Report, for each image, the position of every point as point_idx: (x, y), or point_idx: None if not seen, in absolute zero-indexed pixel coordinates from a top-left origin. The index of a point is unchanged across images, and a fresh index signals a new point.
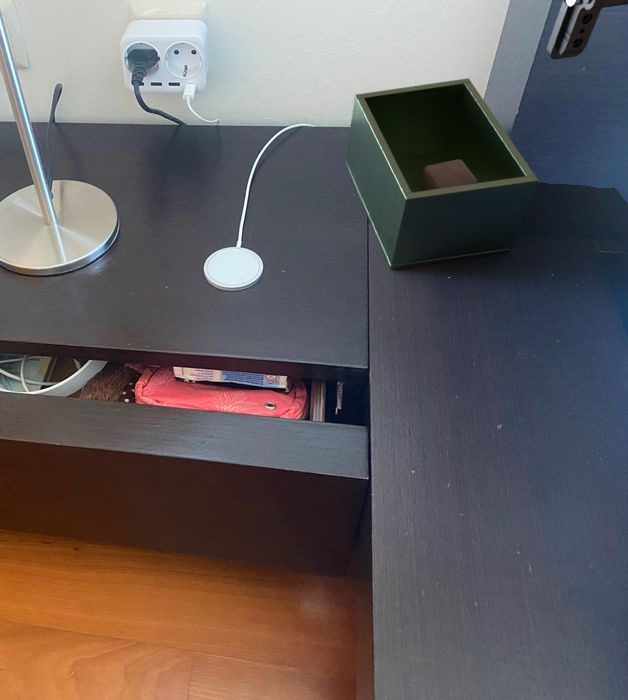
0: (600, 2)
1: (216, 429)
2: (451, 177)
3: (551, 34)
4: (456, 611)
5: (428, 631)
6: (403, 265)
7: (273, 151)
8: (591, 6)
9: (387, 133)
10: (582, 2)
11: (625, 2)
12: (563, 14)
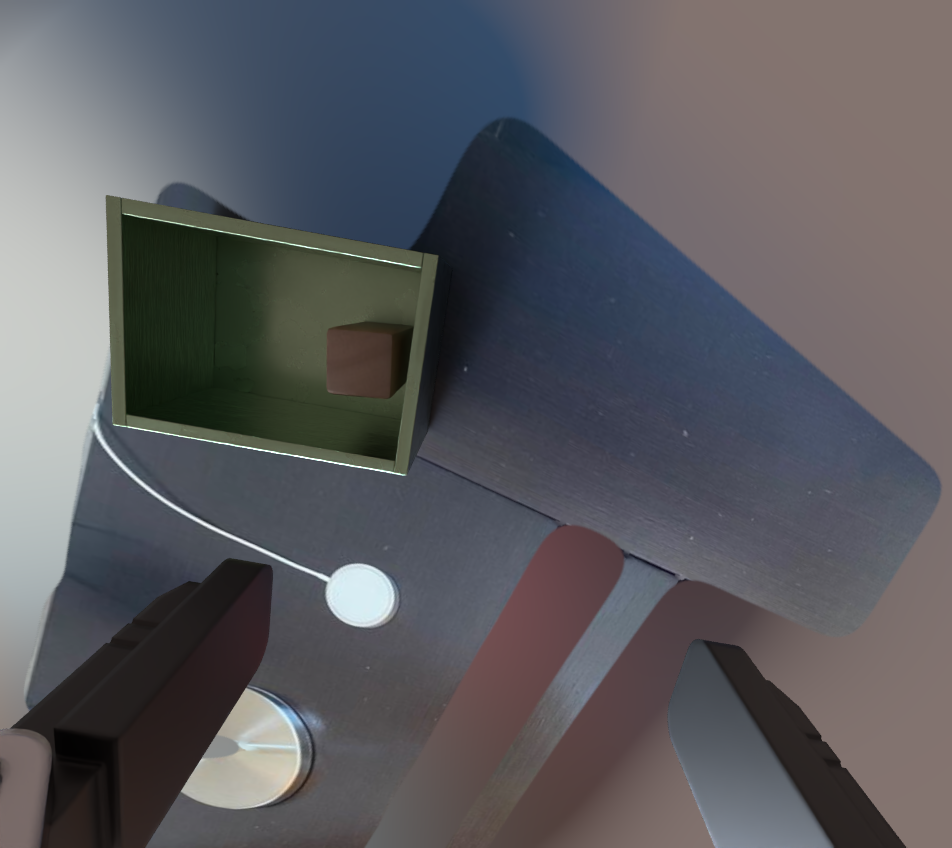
0: None
1: (568, 678)
2: (368, 370)
3: (697, 799)
4: (826, 567)
5: (828, 595)
6: (429, 417)
7: (150, 473)
8: None
9: (182, 348)
10: None
11: None
12: None
